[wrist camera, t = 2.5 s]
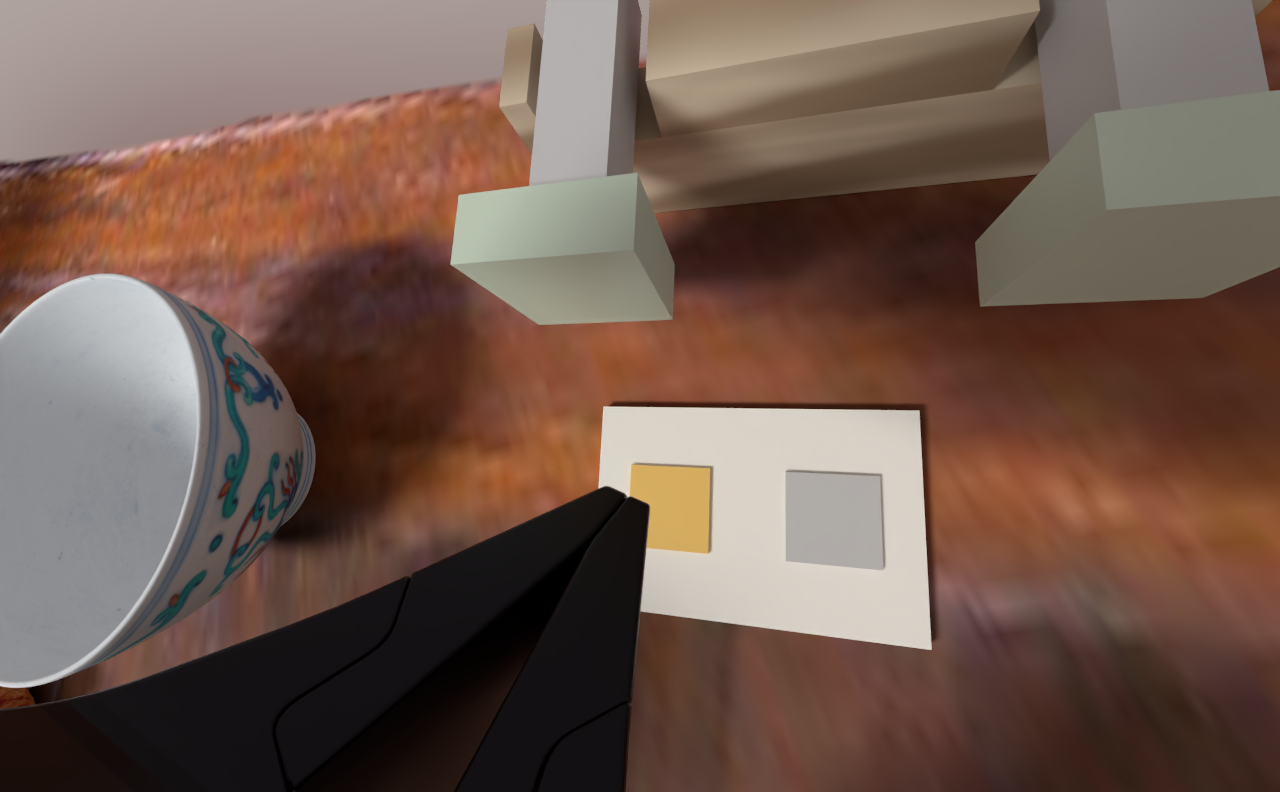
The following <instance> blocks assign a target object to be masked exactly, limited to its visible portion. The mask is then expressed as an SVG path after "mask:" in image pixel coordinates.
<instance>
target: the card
mask: <svg viewBox="0 0 1280 792" xmlns="http://www.w3.org/2000/svg"><path fill="white" fill-rule="evenodd" d="M604 486H610V487H612V488H614V489H617V490H619V491H621V492H623V493H625V494H626V495H627V497H630V496H632V497H634V498H637V499H639V500H641V501H643V502H646V503H648V504H649V505H650V516H649V527H648V538H647V548H646V559H645V569H644V580H643V591H642V601H641V611H642V612H649V613H657V614H664V615H672V616H679V617H687V618H694V619H702V620H709V621H717V622H725V623H732V624H740V625H747V626H755V627H762V628H770V629H777V630H785V631H792V632H800V633H807V634H815V635H823V636H830V637H838V638H845V639H853V640H860V641H868V642H875V643H883V644H890V645H898V646H905V647H913V648H920V649H928V650H932V648H931V628H930V609H929V589H928V569H927V549H926V529H925V510H924V490H923V470H922V450H921V430H920V411H919V410H841V409H762V408H682V407H604V408H603V424H602V440H601V456H600V473H599V488H601V487H604Z"/></svg>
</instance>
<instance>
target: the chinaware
mask: <svg viewBox="0 0 1280 792" xmlns="http://www.w3.org/2000/svg"><path fill="white" fill-rule="evenodd" d="M315 462H316V453H315V444H314V440H313V436H312V433H311V431H310V429H309V427H308V425H307V423H306V422H305V420H304V419H303V418H302V417H301V416H300V415H299V414H298V413H297V412H296V409H295V407H294V404H293V402H292V399H291V397H290V395H289V393H288V391H287V389H286V388H285V386H284V384H283V382H282V381H281V379H280V378H279V376H278V375H277V373H276V372H275V371H274V369H273V368H272V367H271V366H270V364H269V363H268V362H267V361H266V360H265V359H264V357H263V356H262V355H261V354H260V353H259V352H258V351H257V350H256V349H255V348H254V347H253V346H251V345H250V344H249V343H248V342H247V341H246V340H245V339H243V338H242V337H241V336H240V335H238V334H237V333H236V332H235V331H233V330H232V329H231V328H229V327H228V326H226V325H225V324H223V323H222V322H220V321H219V320H217V319H216V318H214V317H213V316H211V315H210V314H208V313H206V312H205V311H203V310H201V309H200V308H198V307H196V306H194V305H192V304H191V303H189V302H187V301H185V300H183V299H181V298H179V297H177V296H175V295H173V294H171V293H169V292H167V291H165V290H163V289H161V288H159V287H157V286H154V285H152V284H150V283H148V282H145V281H142V280H140V279H137V278H134V277H130V276H126V275H120V274H95V275H89V276H84V277H81V278H77V279H75V280H72V281H69V282H67V283H65V284H62V285H60V286H58V287H56V288H55V289H53V290H51V291H49V292H48V293H46V294H45V295H43V296H42V297H40V298H39V299H37V300H36V301H35V302H33V303H32V304H31V305H29V306H28V307H27V308H26V309H25V310H24V311H22V312H21V313H20V314H19V315H18V316H17V317H16V318H15V319H14V320H13V321H12V322H11V323H10V324H9V325H8V326H7V327H6V328H5V329H4V330H3V332H2V333H1V334H0V686H2V687H10V688H24V687H33V686H38V685H43V684H46V683H50V682H53V681H56V680H59V679H62V678H64V677H67V676H70V675H72V674H75V673H77V672H79V671H82V670H84V669H86V668H89V667H91V666H93V665H96V664H98V663H100V662H102V661H105V660H107V659H109V658H111V657H113V656H116V655H118V654H120V653H122V652H124V651H126V650H128V649H130V648H132V647H134V646H136V645H138V644H140V643H142V642H144V641H146V640H148V639H150V638H152V637H153V636H155V635H157V634H159V633H161V632H162V631H164V630H166V629H168V628H169V627H171V626H173V625H174V624H176V623H178V622H179V621H181V620H183V619H184V618H186V617H187V616H189V615H190V614H192V613H193V612H195V611H196V610H198V609H199V608H201V607H202V606H204V605H205V604H206V603H208V602H209V601H210V600H212V599H213V598H214V597H216V596H217V595H218V594H220V593H221V592H222V591H223V590H224V589H226V588H227V587H228V586H229V585H230V584H231V583H233V582H234V581H235V580H236V579H237V578H238V577H239V576H240V575H241V574H242V573H243V572H244V571H245V570H246V569H247V568H248V567H249V566H250V565H251V564H252V563H253V562H254V561H255V560H256V558H257V557H258V556H259V555H260V554H261V553H262V551H263V550H264V549H265V548H266V546H267V545H268V544H269V542H270V541H271V540H272V538H273V537H274V535H275V534H276V532H277V531H278V529H279V528H280V526H282V525H283V524H284V523H286V522H287V521H288V520H289V519H290V518H291V517H292V516H293V515H294V514H295V513H296V512H297V510H298V509H299V508H300V506H301V505H302V503H303V502H304V500H305V498H306V496H307V494H308V492H309V489H310V487H311V484H312V480H313V476H314V471H315Z"/></svg>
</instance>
